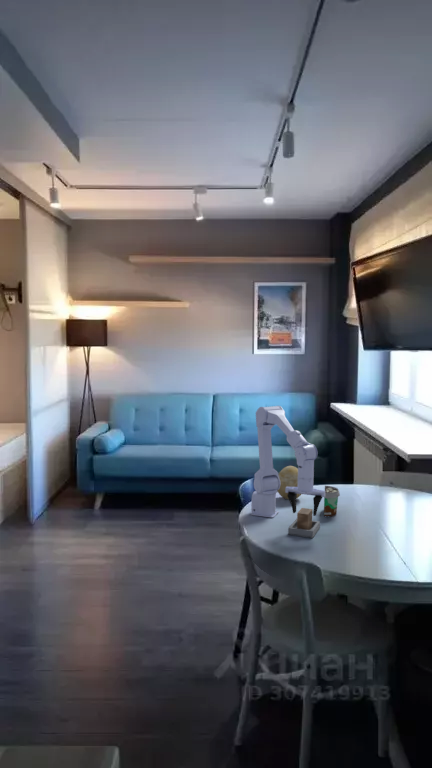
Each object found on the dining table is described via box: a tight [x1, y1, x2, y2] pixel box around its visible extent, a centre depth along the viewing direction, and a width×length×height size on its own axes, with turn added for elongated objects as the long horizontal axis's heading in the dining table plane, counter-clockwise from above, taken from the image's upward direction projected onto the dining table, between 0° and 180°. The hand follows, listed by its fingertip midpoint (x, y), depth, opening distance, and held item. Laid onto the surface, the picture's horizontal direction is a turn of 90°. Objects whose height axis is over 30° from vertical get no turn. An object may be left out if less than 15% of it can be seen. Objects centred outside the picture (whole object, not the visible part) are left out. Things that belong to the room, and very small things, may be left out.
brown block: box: [296, 507, 313, 530], centre depth 211 cm, size 4×7×7 cm, turn 158°
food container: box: [323, 485, 341, 518], centre depth 233 cm, size 12×6×10 cm, turn 168°
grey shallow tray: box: [287, 518, 321, 539], centre depth 211 cm, size 9×12×2 cm
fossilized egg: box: [277, 465, 302, 501], centre depth 253 cm, size 13×13×15 cm
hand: (304, 513), depth 211 cm, fingers open, 7 cm apart
